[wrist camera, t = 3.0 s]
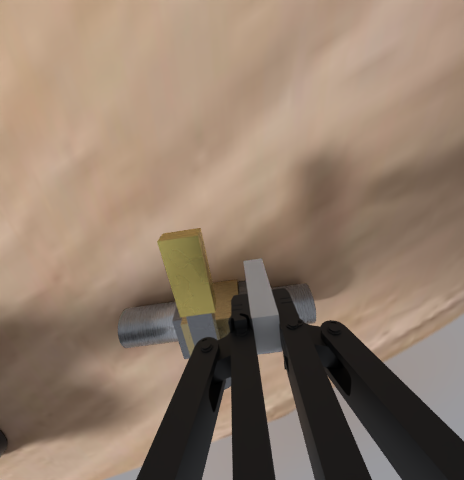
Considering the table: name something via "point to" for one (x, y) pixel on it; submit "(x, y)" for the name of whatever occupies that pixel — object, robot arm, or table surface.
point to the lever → (191, 282)
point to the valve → (176, 328)
